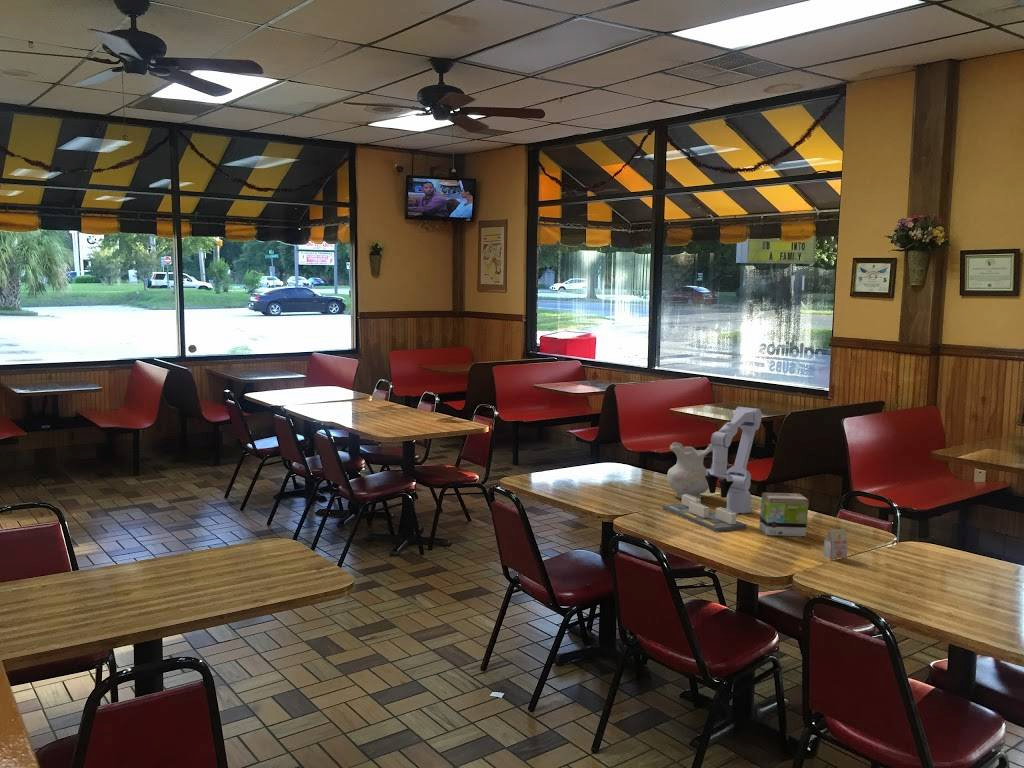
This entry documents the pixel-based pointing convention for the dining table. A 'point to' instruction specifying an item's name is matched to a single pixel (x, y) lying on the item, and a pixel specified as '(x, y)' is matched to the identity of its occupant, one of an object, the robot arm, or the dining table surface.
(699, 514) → the slider
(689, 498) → the slider
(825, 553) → the white gable top carton
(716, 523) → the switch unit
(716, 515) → the slider
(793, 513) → the tea box
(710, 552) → the dining table surface
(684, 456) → the ceramic pitcher
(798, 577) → the dining table surface
